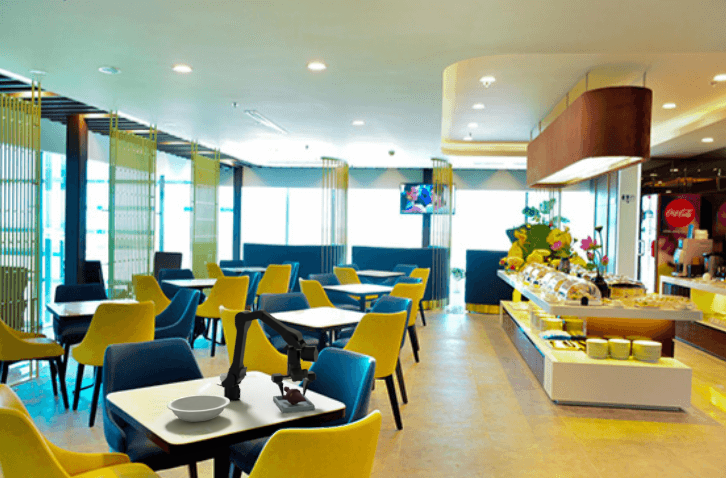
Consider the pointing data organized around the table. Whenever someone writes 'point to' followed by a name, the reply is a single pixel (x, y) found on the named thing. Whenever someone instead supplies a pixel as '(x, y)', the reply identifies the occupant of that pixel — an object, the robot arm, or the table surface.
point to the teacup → (222, 378)
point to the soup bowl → (198, 407)
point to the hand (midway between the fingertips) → (293, 396)
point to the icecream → (293, 396)
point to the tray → (289, 408)
